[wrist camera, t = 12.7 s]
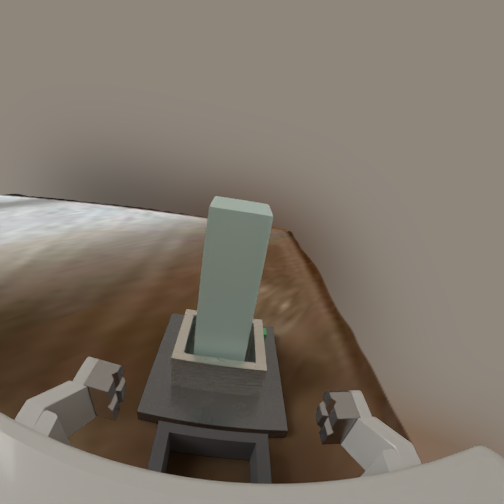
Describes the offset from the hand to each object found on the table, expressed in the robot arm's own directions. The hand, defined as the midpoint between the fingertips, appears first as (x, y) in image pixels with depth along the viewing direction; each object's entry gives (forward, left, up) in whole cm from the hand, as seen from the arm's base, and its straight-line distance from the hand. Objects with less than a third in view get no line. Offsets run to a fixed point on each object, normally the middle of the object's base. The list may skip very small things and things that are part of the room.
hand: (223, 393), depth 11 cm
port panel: (-10, +6, -10) cm, 16 cm away
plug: (-10, +6, -9) cm, 15 cm away
